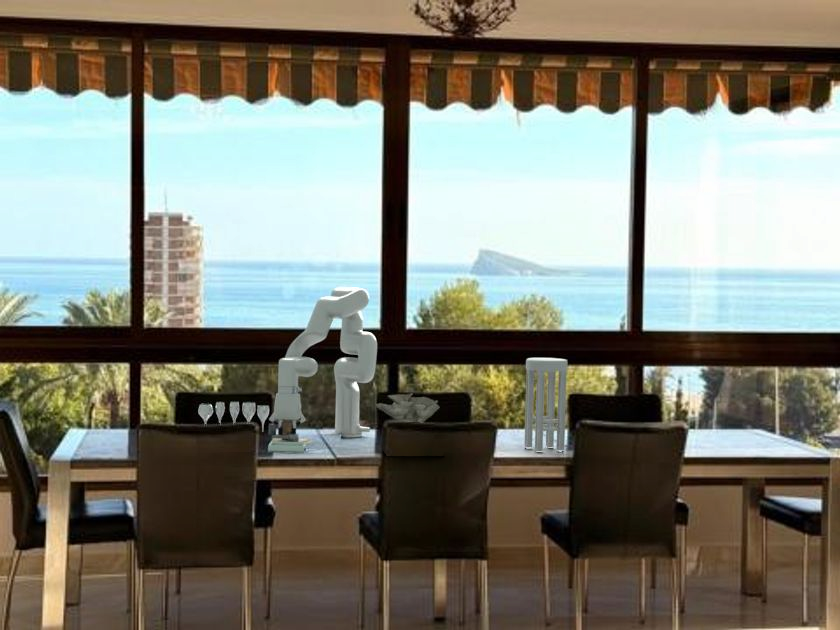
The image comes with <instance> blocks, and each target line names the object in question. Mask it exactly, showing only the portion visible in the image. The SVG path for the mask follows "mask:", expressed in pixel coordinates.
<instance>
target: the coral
mask: <svg viewBox="0 0 840 630" xmlns="http://www.w3.org/2000/svg"><path fill="white" fill-rule="evenodd" d="M413 394H414V393H412V392H410V393H408V394H401V393H399V394H398V393H397V394H391V395H390V394H389V395H387V397H388V398H389V399H390V400H392V401H393V403H392V404H386V403H376V404H375V407H376V408H377V409H378V410H380V411H382V412H384V413H385V414H386V415H388V416H389V417H391V418H393V419H394V420H395V422H396V421H404V422H420V423H424V424H425V422H426V421H427V420H428V419H429V418H431V417H432V416H433V415H434V414H435V413H436V412H437V411H438V410H440V408H441V407H440V406H439V404H438V402H439V401H438V400H434V399H431V398H429V397H426V396H421V397H418V396H417V397H413Z"/></svg>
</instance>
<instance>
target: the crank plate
mask: <svg viewBox="0 0 840 630" xmlns="http://www.w3.org/2000/svg"><path fill="white" fill-rule="evenodd" d="M271 441H276V442H288V441H286V440H282V438H272V440H271ZM271 441H270V442H269V444H270V443H271ZM312 441H313V438H299V442H306V446H309V445H310V444H311V442H312ZM269 444H268V445H269Z"/></svg>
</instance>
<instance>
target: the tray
mask: <svg viewBox="0 0 840 630" xmlns="http://www.w3.org/2000/svg"><path fill="white" fill-rule="evenodd" d="M270 442H271V443H270ZM270 442H269V443H270V444H268V447H267V453H284V452H293V453H292V454H296V453H297V452H298V453H297V454H304V453H305V452H306V450H307V449H306V446H307V445H306V442H276V441H272V440H270ZM294 452H296V453H294Z"/></svg>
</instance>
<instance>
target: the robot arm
mask: <svg viewBox="0 0 840 630" xmlns="http://www.w3.org/2000/svg"><path fill="white" fill-rule="evenodd" d="M330 293H331V294H330V296H322V297H320V298H319V299H317V301H316V303H315V305H314V308H313V311H312V313H311V316H310V318H309V321H308V324H307V325H306V328H305V330H304V331H302V332H301V333H300V334H299V335H298V336H297V337H296V338H295V339H294V340H293V341H292V342H291V344H290V345H289V347H288V348H287V351H286V354H285V356H284V357H282V358H280V359H279V360H278V375H277V376H278V379H277V381H278V382H277V388H278V389H277V393H276V394H275V400H274V409H273V412H272V414H271V416H270V417H269V418H268V420H269V421H270V422H272V424H276V428H278V429H277V434H280V435H282V421H292V422H293V428H292V433H295V434H297V428H298V426H300V425H301V424H302V423H304V422H305V421H307V419H306V418H305V416H304V414H303V413H302V400H301V394H300V393H299V392H302V387H299V377H306V378H309V377H312V376H314V375H315V374H316V373H317V372H318V370H319V365H318V362H317V361H316V360H315V359H314V358H311V357H308V356H303V354H304V353H305V352H306V351H307V350H308V349H309V348H310V347H311V346H314V345H315V344H317V343H320V342H322V341H324V340H325V339H326V338H327V336H328V333H329V331H330V329H331V328H330V327H331V325H332V323H333V321H334V319H337V320H338V319H339V320H341V327H340V329H341V330H340V339H339V340H340V341H339V345H340V350H341V352H343V353H344V354H348V355H357V356H358V357H349V356H348V357H346V356H344V357H340V358H339V359H337V360H336V362H335V363H334V366H333V373H334V379H335V380H334V381H335V420H334V422H335V423H334V427H335V428H334V431H331V433H330V434H331V435H332V434H333V435H341V436H340V437H341V438H347V439H348V438H360V437H363V432H365V433H370V432H371V427H369V426H361V424H360V399H361V398H360V397H361V396H360V393H361V392H360V388H359V384H358V383H361V384H366V383H369V382H371V381H372V380H373V379H374V378H375V377H374V376H375V373H376V367H377V355H378V342H377V338H376V336H375V335H374V334H373V333H372V332H369V331H363V327H364V324H363V323H364V318H363V313H362V312H361V311H362V310H364V309H365V308H366V307H367V306H368V305H369V302H370V295H369V292H368V291H367V290H366V289H365V288H362V287H349V286H348V287H347V286H338V287H336V288H333V290H332V291H331V292H330Z"/></svg>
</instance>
